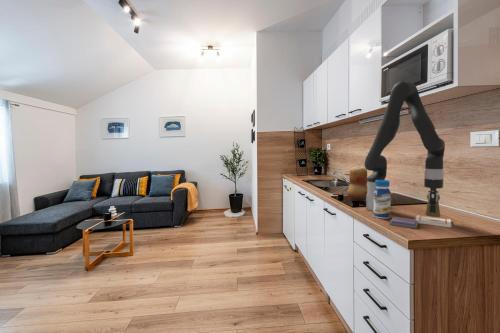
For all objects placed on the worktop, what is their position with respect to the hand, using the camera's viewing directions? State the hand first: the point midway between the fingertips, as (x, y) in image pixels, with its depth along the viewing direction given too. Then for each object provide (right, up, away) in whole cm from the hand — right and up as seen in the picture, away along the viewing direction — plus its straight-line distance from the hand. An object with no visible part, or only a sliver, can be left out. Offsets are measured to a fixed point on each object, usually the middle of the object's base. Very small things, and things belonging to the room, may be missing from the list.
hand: (432, 211), depth 120 cm
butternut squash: (-15, -2, +51) cm, 53 cm away
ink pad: (-16, -6, -2) cm, 17 cm away
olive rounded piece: (0, -2, 0) cm, 2 cm away
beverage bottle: (-19, -5, +11) cm, 23 cm away
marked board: (0, -5, 0) cm, 5 cm away
